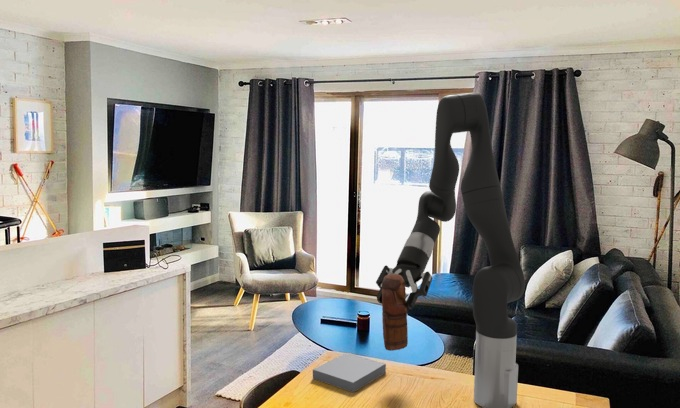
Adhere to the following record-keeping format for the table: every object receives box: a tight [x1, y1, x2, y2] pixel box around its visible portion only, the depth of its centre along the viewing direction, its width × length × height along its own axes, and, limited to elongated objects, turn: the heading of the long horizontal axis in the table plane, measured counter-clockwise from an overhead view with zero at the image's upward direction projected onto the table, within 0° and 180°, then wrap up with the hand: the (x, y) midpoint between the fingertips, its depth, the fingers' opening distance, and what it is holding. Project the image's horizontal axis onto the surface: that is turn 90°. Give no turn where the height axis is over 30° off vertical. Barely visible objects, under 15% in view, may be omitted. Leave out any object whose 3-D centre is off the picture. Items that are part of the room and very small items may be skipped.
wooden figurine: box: [381, 274, 409, 351], centre depth 140 cm, size 12×6×18 cm, turn 177°
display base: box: [312, 352, 387, 393], centre depth 147 cm, size 13×15×2 cm
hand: (393, 304), depth 141 cm, fingers closed on wooden figurine, 8 cm apart
